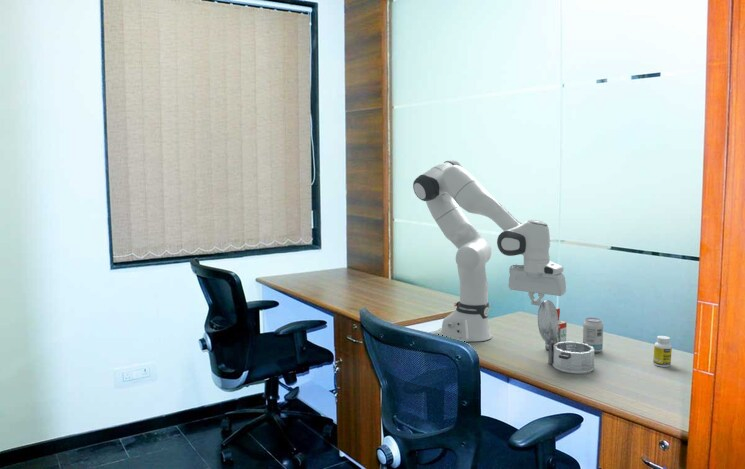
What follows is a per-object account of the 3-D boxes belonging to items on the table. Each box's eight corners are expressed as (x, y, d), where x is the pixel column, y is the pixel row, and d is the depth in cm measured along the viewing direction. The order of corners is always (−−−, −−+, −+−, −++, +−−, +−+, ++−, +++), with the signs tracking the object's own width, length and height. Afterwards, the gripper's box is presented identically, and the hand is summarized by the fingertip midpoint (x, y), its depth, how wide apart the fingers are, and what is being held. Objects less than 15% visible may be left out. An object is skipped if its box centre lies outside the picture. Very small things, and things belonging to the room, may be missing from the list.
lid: (545, 348, 203) (535, 348, 205) (562, 338, 214) (552, 338, 216) (538, 304, 202) (528, 304, 205) (556, 296, 214) (546, 297, 216)
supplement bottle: (663, 368, 202) (665, 340, 201) (649, 363, 207) (651, 336, 206) (674, 365, 205) (675, 338, 203) (660, 361, 209) (661, 334, 208)
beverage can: (600, 348, 224) (601, 317, 223) (604, 354, 217) (605, 322, 216) (580, 347, 225) (581, 316, 224) (584, 353, 218) (585, 321, 217)
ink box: (566, 347, 226) (567, 309, 224) (552, 351, 221) (553, 313, 220) (558, 345, 229) (559, 308, 227) (544, 349, 224) (545, 311, 223)
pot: (539, 368, 203) (540, 349, 202) (560, 355, 216) (560, 337, 215) (582, 378, 194) (583, 357, 193) (601, 364, 207) (602, 344, 206)
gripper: (505, 265, 214) (505, 302, 215) (560, 270, 201) (560, 310, 202) (513, 262, 218) (513, 299, 220) (568, 267, 205) (567, 307, 207)
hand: (536, 304), depth 211 cm, fingers closed
